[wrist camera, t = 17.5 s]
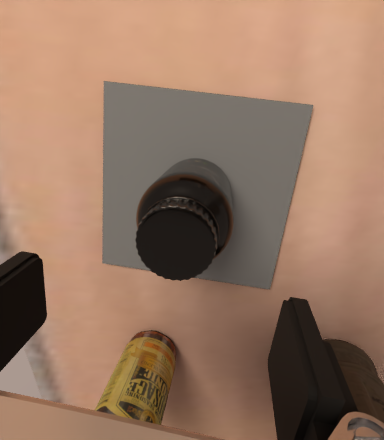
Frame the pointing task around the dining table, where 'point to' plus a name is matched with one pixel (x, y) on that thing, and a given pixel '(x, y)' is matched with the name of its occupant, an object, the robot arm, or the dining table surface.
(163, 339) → the sauce bottle
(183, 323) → the dining table surface
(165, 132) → the mat
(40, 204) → the dining table surface
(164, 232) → the supplement bottle
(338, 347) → the beer stein
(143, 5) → the dining table surface
